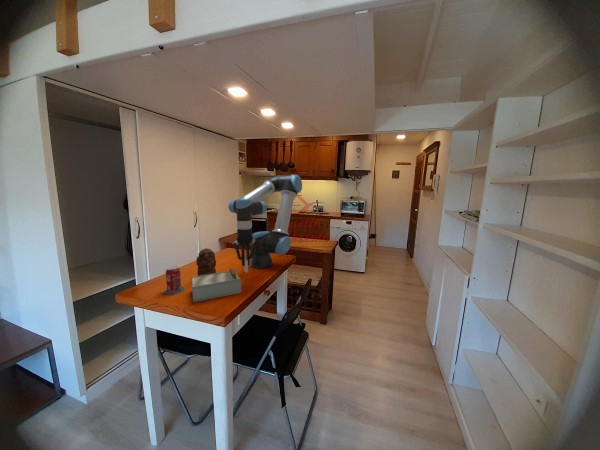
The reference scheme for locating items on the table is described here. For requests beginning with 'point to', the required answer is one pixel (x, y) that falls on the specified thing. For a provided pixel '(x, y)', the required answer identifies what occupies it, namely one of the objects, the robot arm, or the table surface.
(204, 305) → the table surface
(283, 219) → the robot arm
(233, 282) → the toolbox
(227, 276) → the lid
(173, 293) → the coaster
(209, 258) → the wooden figurine
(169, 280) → the beverage can
